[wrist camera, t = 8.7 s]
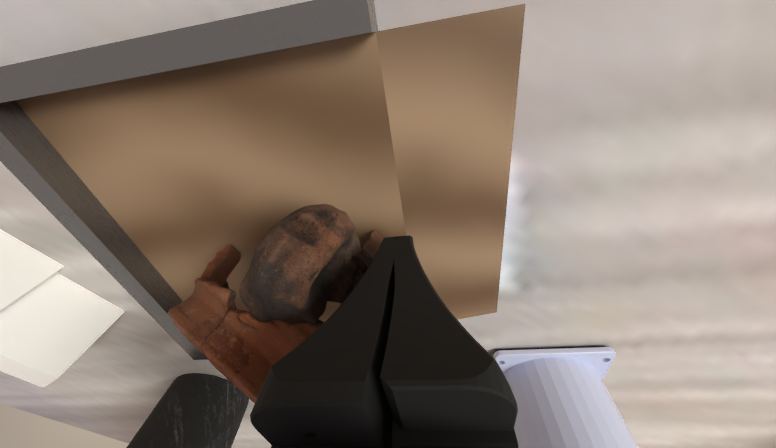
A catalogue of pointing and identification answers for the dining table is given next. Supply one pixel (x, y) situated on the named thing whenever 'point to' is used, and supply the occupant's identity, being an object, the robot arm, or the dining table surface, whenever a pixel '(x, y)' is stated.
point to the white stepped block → (44, 315)
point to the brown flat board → (311, 149)
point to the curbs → (131, 60)
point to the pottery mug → (274, 293)
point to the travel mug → (194, 415)
